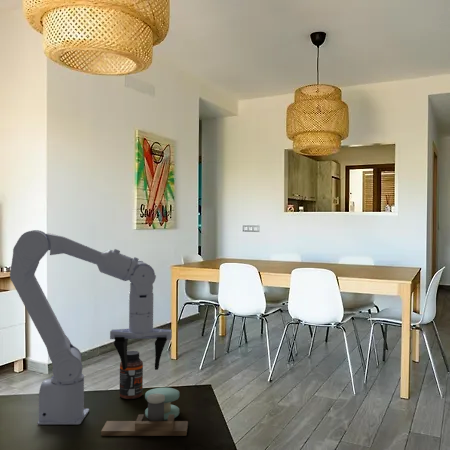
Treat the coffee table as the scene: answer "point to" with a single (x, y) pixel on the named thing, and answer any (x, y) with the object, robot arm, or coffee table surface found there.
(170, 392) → the disc
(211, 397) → the coffee table surface
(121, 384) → the supplement bottle
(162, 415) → the plug
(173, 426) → the board
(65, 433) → the coffee table surface
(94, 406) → the coffee table surface
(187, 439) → the coffee table surface
